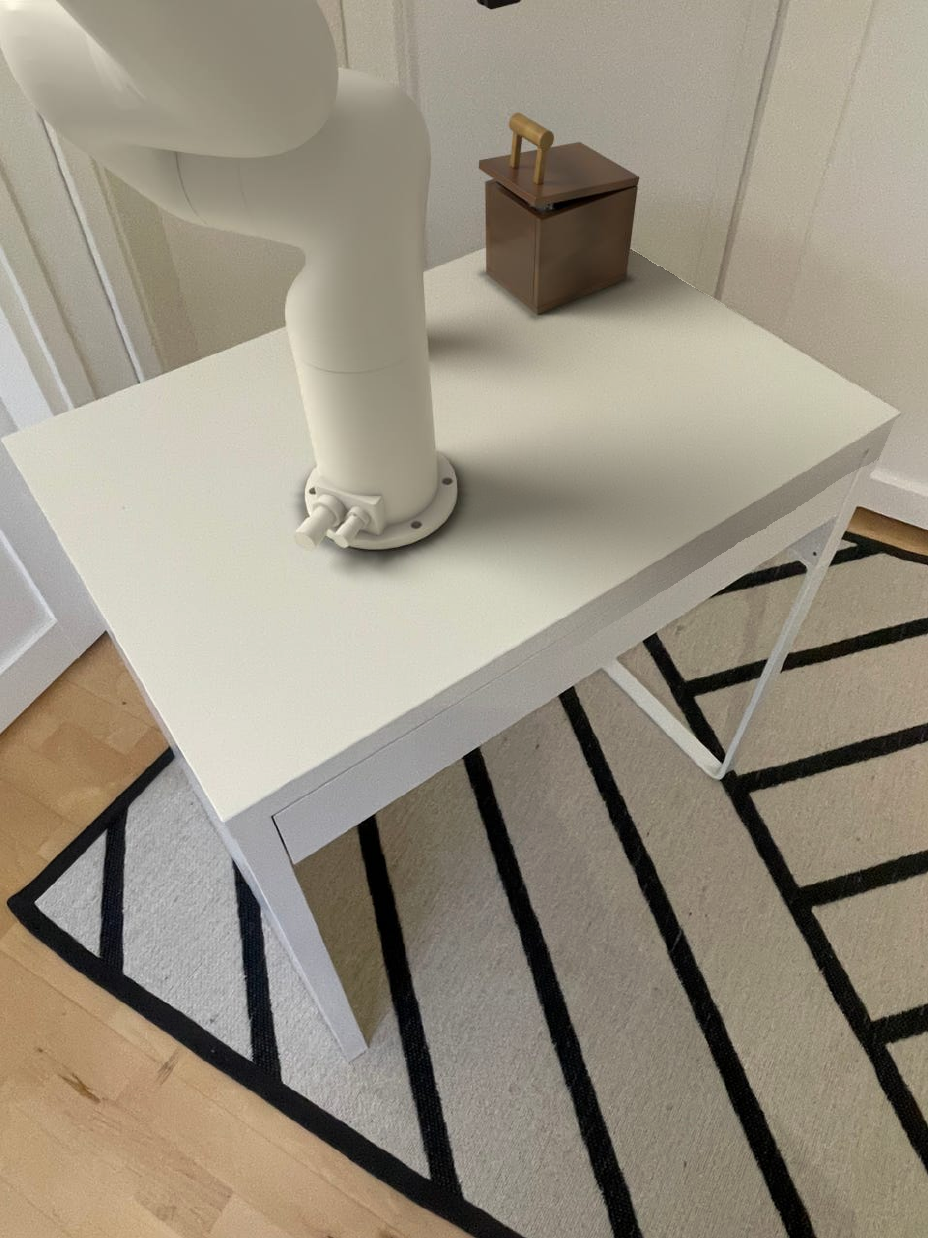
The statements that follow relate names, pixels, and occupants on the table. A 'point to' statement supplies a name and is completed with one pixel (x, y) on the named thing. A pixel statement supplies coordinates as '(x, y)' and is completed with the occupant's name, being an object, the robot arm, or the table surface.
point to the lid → (553, 167)
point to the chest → (557, 245)
